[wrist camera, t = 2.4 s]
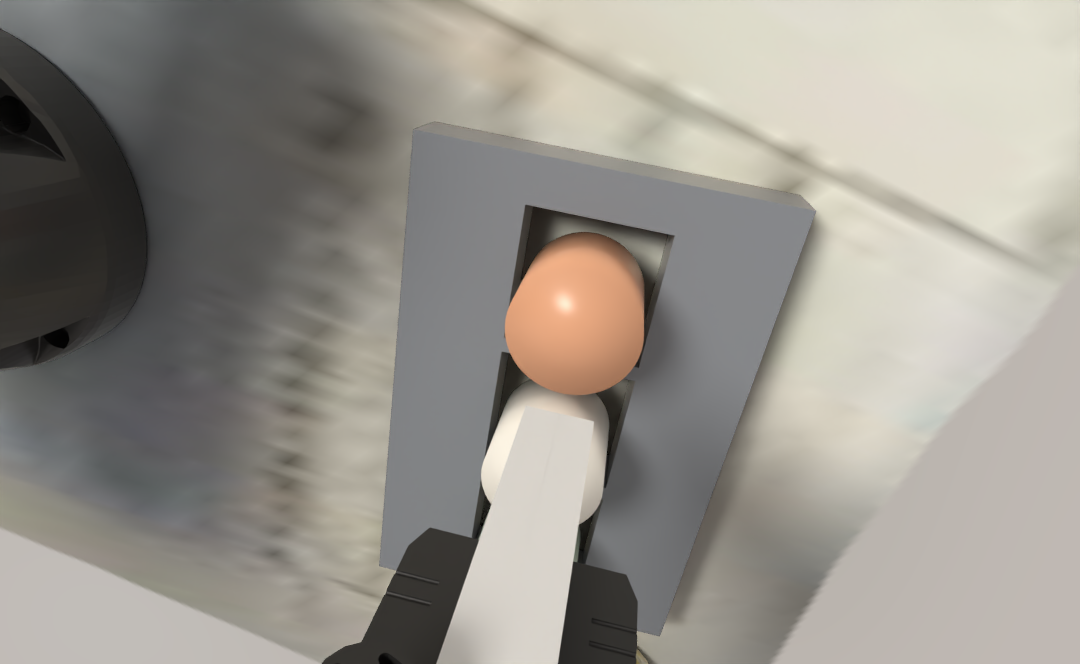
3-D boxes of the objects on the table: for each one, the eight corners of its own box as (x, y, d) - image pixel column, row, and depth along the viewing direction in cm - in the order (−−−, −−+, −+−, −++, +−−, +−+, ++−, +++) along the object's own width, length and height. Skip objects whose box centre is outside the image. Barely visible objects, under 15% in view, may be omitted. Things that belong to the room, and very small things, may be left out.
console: (396, 532, 33) (379, 566, 31) (434, 121, 24) (413, 129, 22) (658, 596, 32) (659, 636, 30) (800, 195, 23) (816, 210, 21)
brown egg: (517, 329, 25) (496, 378, 21) (536, 220, 23) (515, 254, 19) (629, 354, 24) (626, 407, 21) (657, 246, 22) (659, 285, 19)
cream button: (496, 452, 27) (474, 515, 24) (512, 364, 25) (489, 418, 22) (597, 476, 27) (589, 543, 23) (620, 389, 25) (615, 447, 21)
